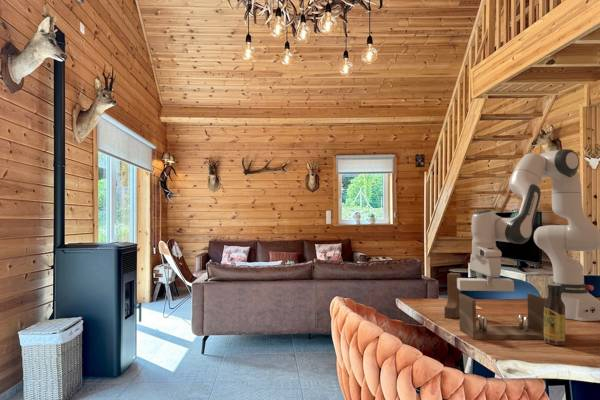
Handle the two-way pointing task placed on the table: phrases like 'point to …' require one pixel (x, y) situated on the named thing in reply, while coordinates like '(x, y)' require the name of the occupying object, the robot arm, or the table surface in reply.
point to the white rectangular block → (484, 284)
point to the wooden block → (453, 297)
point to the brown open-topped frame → (529, 331)
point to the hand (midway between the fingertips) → (484, 284)
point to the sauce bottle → (554, 316)
